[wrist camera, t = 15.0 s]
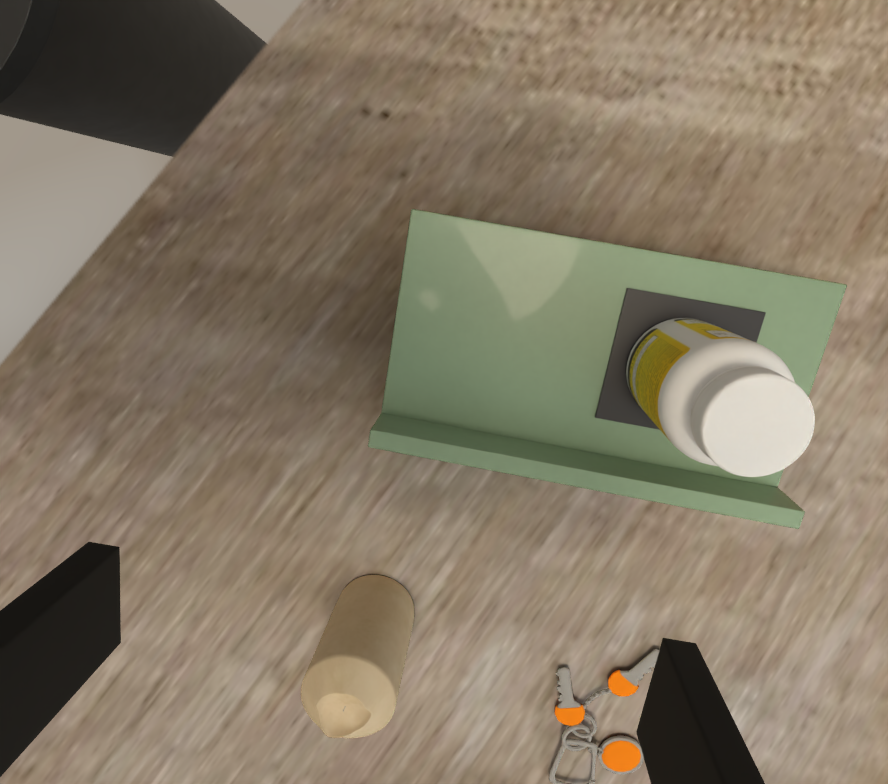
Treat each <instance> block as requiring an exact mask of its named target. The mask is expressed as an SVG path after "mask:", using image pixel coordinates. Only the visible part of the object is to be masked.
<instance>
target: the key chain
mask: <svg viewBox="0 0 888 784" xmlns="http://www.w3.org/2000/svg"><path fill="white" fill-rule="evenodd" d="M658 654H659V650H658V649H654V650H653V651H652V652H651V653H650V654H649V655H647V656H646V657H645V658H644V659H643V660H641V661H640V662H639V663H638V664H637V665H635V666H634V667H633V668H632V669H631V670H629V671H620V670H617V671H615V672H613V673H612V674H611V676H610V677H609V678H608V687H609V688H608V689H604V690H601V691H598V692H596V693H594V694H593V695H591V696H590V697H589V698H588V699H587V700H586V701H585V703H584V704H583V705H582V704H579V703H578V702H577V701H575V700H574V699H573V692H572V685H571V679H570V672H569V668H566V667H562V668H559V669H558V672H556V676H559V681H557V683H558V684H560V686H557V690H559V693H561V694H562V695H559V696H560V698H559V701H561V702H560V703H559V704H558V706H557V705H556V707H555V715H556V717H557V719H558V720H559V721H560V722H561V723H563V724H564V725H569V727H568V728H567V729H566V730H565V731H564V733H563V735H562V737H561V740H562V745H561V747H560V749H559V752H558V754H557V756H556V758H555V761H554V763H553V766H552V768H551V771H550V774H549V780H550V782H551V783H553V784H570V783H565V782H562V781H559V780H556V779H555V772H556V770H557V767H558V765H559V762H560V760H561V757H562V755H563V753H564V751H565V749H568V750H571V751H579V750H582V749H585V748H586V747H589V748H588V751H589V752H590V753H592V771H591V779H590V781H589V783H588V784H594V783H595V779H594V776H595V762H596V755H598V757H599V760H600V763H601V765H602V766H603V767H604V768H605V769H606V770H608V771H610V772H612V773H615V774H628V773H632V772H633V771H635V770H637V769H638V768H639V767H640V766H641V765H642V763H643V760H644V756H643V753H642V749H641V746H640V744H639V743H638V742H637V741H636V740H634V739H632V738H630V737H628V736H620V735H619V736H614V737H610V738H609V739H607V740H605V741H604V742H603V743H602V744H601V746H600V747H597V745H596V744H594V743H591V740H592V735H593V734H594V733H595V732H596V729H597V725H596V722H595V720H594V719H593V718H592V717H591V716H589V715H587V714H585V710H586V708H587V705H589V704H590V703H591V701H593V700H594V699H595V698H596V697H599V696H601V695H604V694H607V693H614V694H616V695H618V696H629V695H631V694H633V693H635V692H636V690H637V689H638V687H639V685H638V679H639V680H642V677H643V676H644V675H643V673H646V674H647V673H648V672H649V673H650V672H651V671H652V670H651V669H650V668H651V667H653V668H654V667H655V663H656V661H657V657H658ZM584 718H587V719H589V720H590V721H591V722H592V724H593V729H592V731H591V730H590V729H589V728H588V727H587V726H584V725H582V724H579V723H580V722H581V721H582V720H583V719H584ZM576 729H583V730H585V731H586V732H587V734H581V733H578V732H577V731H576ZM571 731H572V732H573V733H574V734H575V735H576V736H578V737H580V738H587V739H586V741H582V740H576V739H566V737H567V735H568V734H569V733H570V732H571ZM569 744H574V745H578V746H571V745H569ZM591 749H592V751H591ZM597 750H599V751H598V752H597Z"/></svg>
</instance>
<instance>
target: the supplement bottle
mask: <svg viewBox="0 0 888 784" xmlns="http://www.w3.org/2000/svg"><path fill="white" fill-rule="evenodd" d="M626 376H627V383H628V387H629V389H630V392H631V394H632V396H633V397H634V399H635V400H636V402H637V403H638V405H639V406H640V407H641V409H642V410H643V411H644V412H645V413H646V414H647V415H648V417H649V418H650V419H651V420H652V421H653V422H654V423H655V424H656V426H657V427H658V428H659V429H660V430H661V431H662V433H663V434H664V435H665V436H666V437H667V438H668V440H669V441H670V442H671V443H672V444H673V445H674V446H675V447H676V448H677V449H678V450H680V451H681V452H682V453H684V454H685V455H686V456H688V457H690V458H691V459H693V460H696V461H698V462H701V463H704V464H708V465H713V466H719V467H720V468H722V469H723V470H725V471H727V472H729V473H732V474H735V475H738V476H744V477H760V476H766V475H770V474H773V473H776V472H779V471H781V470H783V469H784V468H786V467H788V466H789V465H791V464H792V463H793V462H794V461H795V460H797V459H798V458H799V457H800V456H801V454H802V453H803V452H804V451H805V449H806V448H807V446H808V444H809V442H810V440H811V438H812V435H813V431H814V423H815V416H814V410H813V407H812V404H811V401H810V399H809V398H808V396H807V394H806V393H805V392H804V390H803V389H802V388H801V387H800V386H798V385H797V384H796V383H795V381H794V378H793V376H792V374H791V372H790V370H789V369H788V367H787V365H786V364H785V363H784V362H783V360H782V359H781V358H780V357H779V356H777V355H776V354H775V353H774V352H772V351H771V350H769V349H768V348H766V347H764V346H762V345H760V344H758V343H755V342H753V341H751V340H748V339H746V338H744V337H741V336H739V335H736V334H734V333H732V332H729V331H727V330H724V329H722V328H720V327H717V326H715V325H712V324H710V323H707V322H704V321H701V320H697V319H692V318H676V319H671V320H667V321H664V322H661V323H659V324H657V325H655V326H653V327H652V328H650V329H649V330H648V331H646V332H645V333H644V334H643V335H642V336H641V337H640V338H639V339H638V341H637V342H636V343H635V345H634V347H633V348H632V350H631V352H630V355H629V358H628V362H627V369H626Z"/></svg>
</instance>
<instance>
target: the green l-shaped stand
mask: <svg viewBox="0 0 888 784" xmlns="http://www.w3.org/2000/svg"><path fill="white" fill-rule="evenodd" d="M846 287H847V285H846V284H841V283H835V282H829V281H824V280H818V279H812V278H806V277H801V276H795V275H789V274H783V273H778V272H772V271H766V270H761V269H755V268H749V267H743V266H738V265H732V264H726V263H720V262H715V261H709V260H703V259H697V258H692V257H686V256H680V255H674V254H669V253H663V252H657V251H651V250H646V249H640V248H634V247H629V246H623V245H617V244H611V243H606V242H600V241H594V240H588V239H583V238H577V237H571V236H565V235H560V234H554V233H548V232H542V231H537V230H531V229H525V228H520V227H514V226H508V225H502V224H497V223H491V222H485V221H479V220H474V219H468V218H462V217H456V216H451V215H445V214H439V213H433V212H428V211H422V210H416V209H412V210H411V215H410V222H409V229H408V236H407V243H406V249H405V256H404V263H403V270H402V276H401V283H400V290H399V297H398V303H397V310H396V317H395V324H394V331H393V337H392V344H391V351H390V358H389V364H388V371H387V378H386V385H385V392H384V398H383V405H382V412H381V414H380V416H379V418H378V419H377V421H376V422H375V424H374V425H373V427H372V428H371V430H370V436H369V443H368V447H371V448H376V449H381V450H386V451H392V452H397V453H402V454H407V455H413V456H418V457H423V458H428V459H434V460H439V461H444V462H449V463H455V464H460V465H465V466H470V467H476V468H481V469H486V470H491V471H497V472H502V473H507V474H512V475H518V476H523V477H528V478H533V479H538V480H544V481H549V482H554V483H559V484H565V485H570V486H575V487H580V488H586V489H591V490H596V491H601V492H607V493H612V494H617V495H622V496H628V497H633V498H638V499H643V500H649V501H654V502H659V503H664V504H670V505H675V506H680V507H685V508H691V509H696V510H701V511H706V512H712V513H717V514H722V515H727V516H732V517H738V518H743V519H748V520H753V521H759V522H764V523H769V524H774V525H780V526H785V527H790V528H795V529H799V527H800V525H801V522H802V519H803V516H804V513H805V511H803V510H802V509H801V508H800V507H799V506H798V505H797V504H796V503H795V502H793V501H792V500H791V499H790V498H789V497H788V496H787V495H786V494H784V493H783V492H782V491H781V490H780V489H779V488H778V484H779V481H780V478H781V475H782V473H783V470H784V469H783V470H781V471H779V472H776V473H773V474H770V475H766V476H760V477H744V476H738V475H735V474H732V473H729V472H727V471H725V470H723V469H722V468H720V467H719V466H713V465H708V464H704V463H701V462H698V461H696V460H693V459H691V458H690V457H688V456H686V455H685V454H684V453H682V452H681V451H680V450H678V449H677V448H676V447H675V446H674V445H673V444H672V443H671V442H670V441H669V440H668V438H667V437H666V436H665V435H664V434H663V433H662V431H661V430H660V429H659V428H658V427H657V426H656V424H655V423H654V422H653V421H652V420H651V419H650V418H649V417H648V415H647V414H646V413H645V412H644V411H643V410H642V409H641V407H640V406H639V405H638V403H637V402H636V400H635V399H634V397H633V396H632V394H631V392H630V389H629V387H628V383H627V376H626V369H627V362H628V358H629V355H630V352H631V350H632V348H633V347H634V345H635V343H636V342H637V341H638V339H639V338H640V337H641V336H642V335H643V334H644V333H645V332H646V331H648V330H649V329H650V328H652V327H653V326H655V325H657V324H659V323H661V322H664V321H667V320H671V319H676V318H692V319H697V320H701V321H704V322H707V323H710V324H712V325H715V326H717V327H720V328H722V329H724V330H727V331H729V332H732V333H734V334H736V335H739V336H741V337H744V338H746V339H748V340H751V341H753V342H755V343H758V344H760V345H762V346H764V347H766V348H768V349H769V350H771V351H772V352H774V353H775V354H776V355H777V356H779V357H780V358H781V359H782V360H783V362H784V363H785V364H786V365H787V367H788V369H789V370H790V372H791V374H792V376H793V378H794V381H795V383H796V384H797V385H798V386H800V387H801V388H802V389H803V390H804V392H805V393H806V394H807V396H808V397H809V394H810V391H811V388H812V385H813V383H814V380H815V377H816V374H817V371H818V368H819V365H820V362H821V359H822V356H823V354H824V351H825V348H826V345H827V342H828V339H829V336H830V333H831V330H832V327H833V324H834V322H835V319H836V316H837V313H838V310H839V307H840V304H841V301H842V298H843V295H844V293H845V290H846Z"/></svg>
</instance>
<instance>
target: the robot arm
mask: <svg viewBox="0 0 888 784" xmlns="http://www.w3.org/2000/svg"><path fill="white" fill-rule="evenodd" d="M120 643H121V634H120V556H119V547H116V546H110V545H104V544H98V543H92V542H88V543H87V544H85V545H84V546H83V547H82V548H80V549H79V550H78V551H76V552H75V553H74V554H73V555H71V556H70V557H69V558H67V559H66V560H65V561H64V562H62V563H61V564H60V565H58V566H57V567H56V568H55V569H53V570H52V571H51V572H49V573H48V574H47V575H46V576H44V577H43V578H42V579H40V580H39V581H38V582H37V583H35V584H34V585H33V586H31V587H30V588H29V589H28V590H26V591H25V592H24V593H22V594H21V595H20V596H19V597H17V598H16V599H15V600H13V601H12V602H11V603H10V604H8V605H7V606H6V607H5V608H3V609H2V610H1V611H0V777H1V776H2V774H3V773H4V772H5V771H6V770H7V769H8V768H9V767H10V766H11V764H12V763H13V762H14V761H15V760H16V759H17V758H18V757H19V756H20V754H21V753H22V752H23V751H24V750H25V749H26V748H27V747H28V745H29V744H30V743H31V742H32V741H33V740H34V739H35V738H36V737H37V735H38V734H39V733H40V732H41V731H42V730H43V729H44V728H45V726H46V725H47V724H48V723H49V722H50V721H51V720H52V719H53V718H54V716H55V715H56V714H57V713H58V712H59V711H60V710H61V709H62V708H63V706H64V705H65V704H66V703H67V702H68V701H69V700H70V699H71V697H72V696H73V695H74V694H75V693H76V692H77V691H78V690H79V689H80V687H81V686H82V685H83V684H84V683H85V682H86V681H87V680H88V678H89V677H90V676H91V675H92V674H93V673H94V672H95V671H96V670H97V668H98V667H99V666H100V665H101V664H102V663H103V662H104V661H105V659H106V658H107V657H108V656H109V655H110V654H111V653H112V652H113V651H114V649H115V648H116V647H117V646H118V645H119V644H120ZM637 736H638V739H639V743H640V746H641V749H642V753H643V756H644V760H645V763H646V767H647V770H648V774H649V777H650V781H651V784H765V783H764V781H763V779H762V777H761V775H760V773H759V771H758V769H757V767H756V765H755V763H754V761H753V759H752V757H751V755H750V752H749V750H748V748H747V746H746V744H745V742H744V740H743V738H742V736H741V734H740V732H739V730H738V728H737V726H736V724H735V722H734V720H733V718H732V716H731V714H730V712H729V710H728V708H727V706H726V704H725V702H724V700H723V698H722V696H721V694H720V691H719V689H718V687H717V685H716V683H715V681H714V679H713V677H712V675H711V673H710V671H709V669H708V667H707V665H706V663H705V661H704V659H703V657H702V655H701V653H700V651H699V649H698V647H697V645H696V643H690V642H684V641H678V640H672V639H666V638H663V640H662V643H661V647H660V650H659V654H658V657H657V661H656V665H655V668H654V672H653V675H652V679H651V682H650V686H649V689H648V693H647V697H646V700H645V704H644V707H643V711H642V714H641V718H640V721H639V725H638V729H637Z"/></svg>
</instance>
